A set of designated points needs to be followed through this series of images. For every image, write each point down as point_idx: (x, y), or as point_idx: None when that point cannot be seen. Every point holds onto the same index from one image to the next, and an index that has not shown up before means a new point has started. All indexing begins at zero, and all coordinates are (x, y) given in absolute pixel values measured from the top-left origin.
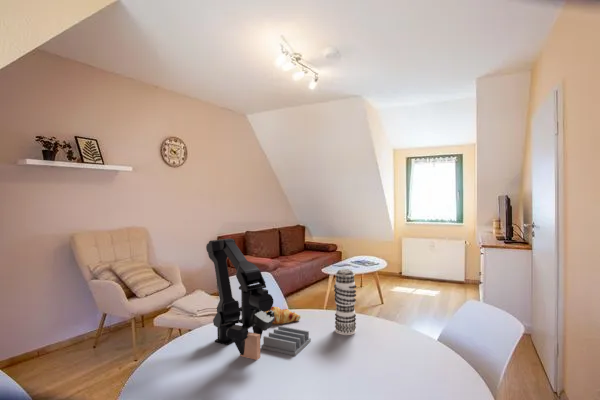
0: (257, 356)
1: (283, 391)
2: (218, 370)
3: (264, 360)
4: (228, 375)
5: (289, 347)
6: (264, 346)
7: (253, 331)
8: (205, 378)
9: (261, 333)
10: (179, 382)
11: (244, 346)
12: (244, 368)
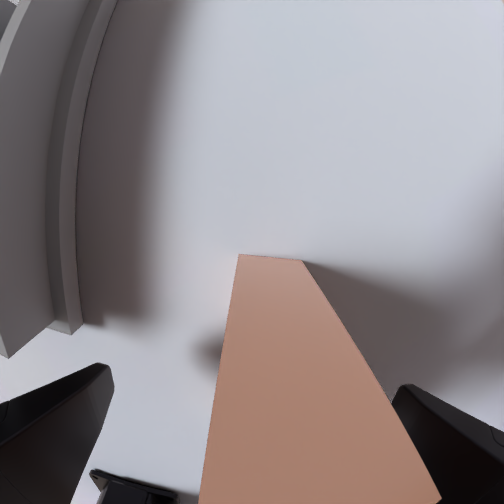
0: (303, 269)
1: (500, 9)
2: (455, 401)
3: (286, 181)
4: (499, 327)
5: (62, 18)
6: (67, 301)
7: (69, 501)
8: (499, 391)
9: (9, 413)
10: (496, 428)
11: (466, 430)
12: (446, 289)
